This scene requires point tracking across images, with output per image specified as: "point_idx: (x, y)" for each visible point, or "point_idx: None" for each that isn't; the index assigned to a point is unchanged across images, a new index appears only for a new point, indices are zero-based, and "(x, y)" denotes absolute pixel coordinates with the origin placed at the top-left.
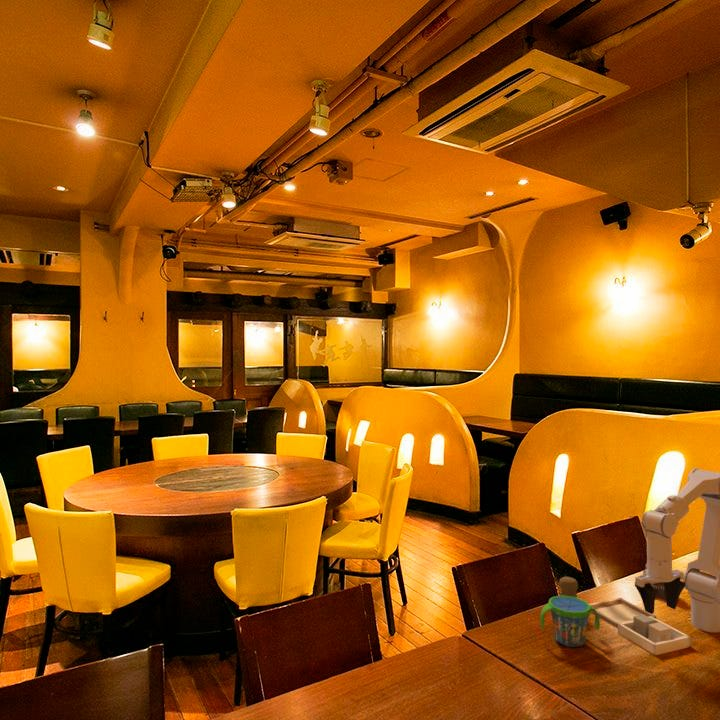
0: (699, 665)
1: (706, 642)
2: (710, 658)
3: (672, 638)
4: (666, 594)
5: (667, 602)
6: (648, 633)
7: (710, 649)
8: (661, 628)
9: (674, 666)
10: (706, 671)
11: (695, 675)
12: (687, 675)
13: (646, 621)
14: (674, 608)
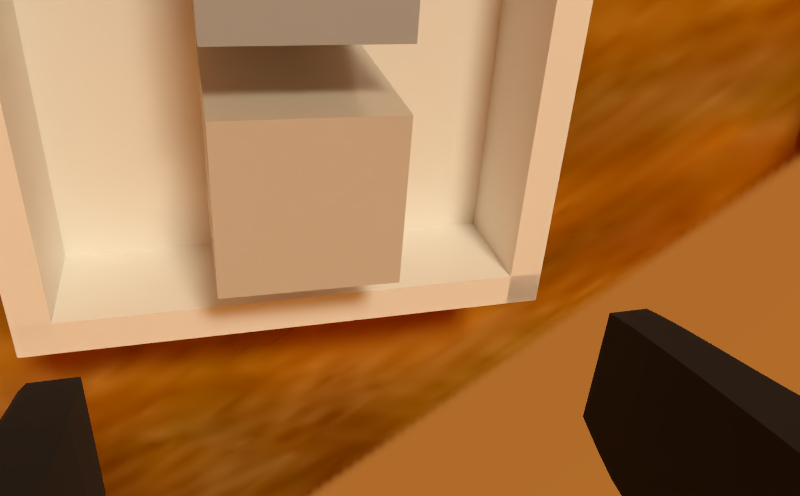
0: (341, 397)
1: (720, 168)
2: (505, 344)
3: (492, 91)
4: (759, 451)
5: (646, 361)
6: (201, 73)
7: (633, 254)
8: (293, 257)
9: (131, 379)
10: (316, 455)
11: (193, 481)
12: (132, 476)
13: (261, 32)
14: (599, 424)
